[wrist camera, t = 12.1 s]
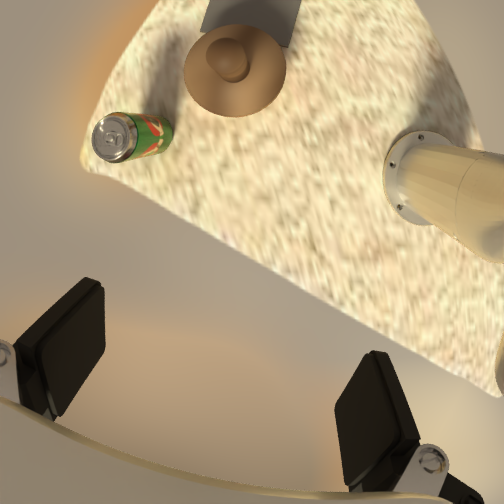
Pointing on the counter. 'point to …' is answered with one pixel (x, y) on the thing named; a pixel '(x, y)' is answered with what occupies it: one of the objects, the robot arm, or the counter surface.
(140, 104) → the counter surface
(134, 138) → the soda can
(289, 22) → the mat
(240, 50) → the lid
